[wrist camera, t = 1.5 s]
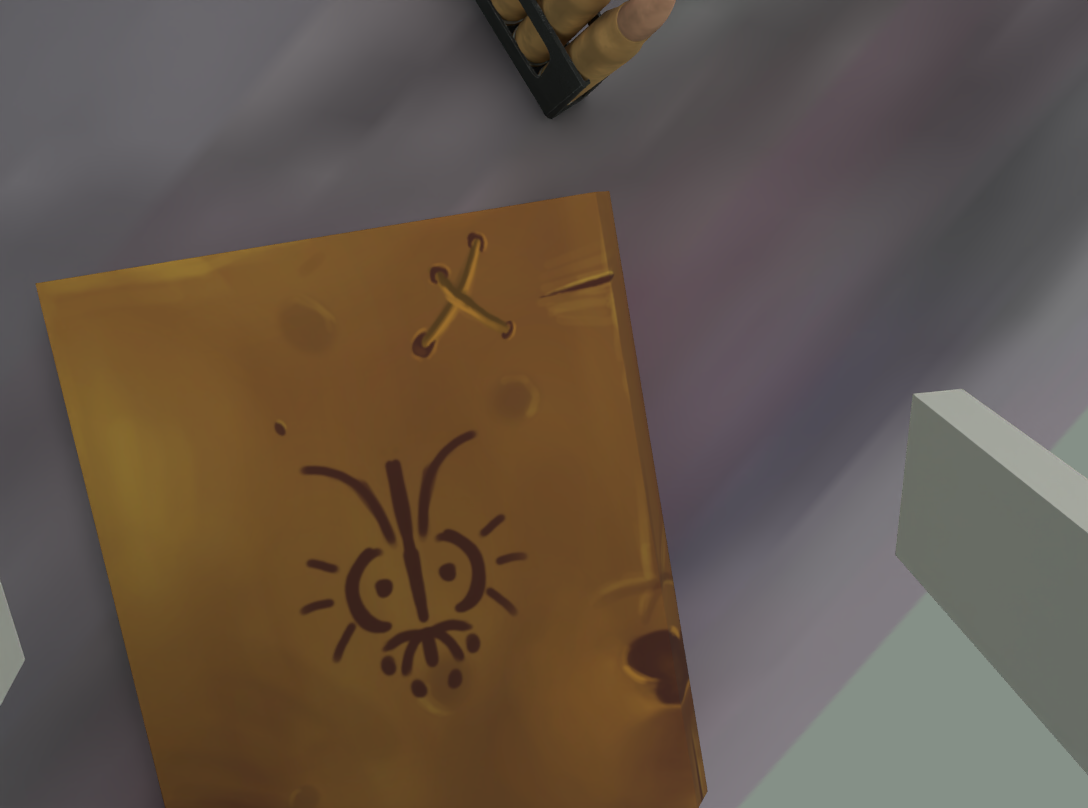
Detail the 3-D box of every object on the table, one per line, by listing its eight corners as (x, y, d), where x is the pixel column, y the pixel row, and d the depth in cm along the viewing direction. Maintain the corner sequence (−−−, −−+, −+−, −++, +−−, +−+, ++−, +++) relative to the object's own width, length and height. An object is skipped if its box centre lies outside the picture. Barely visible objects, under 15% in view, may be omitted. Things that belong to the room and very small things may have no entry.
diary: (661, 738, 43) (717, 803, 37) (216, 872, 39) (205, 969, 33) (571, 203, 39) (619, 187, 34) (72, 285, 35) (33, 283, 30)
